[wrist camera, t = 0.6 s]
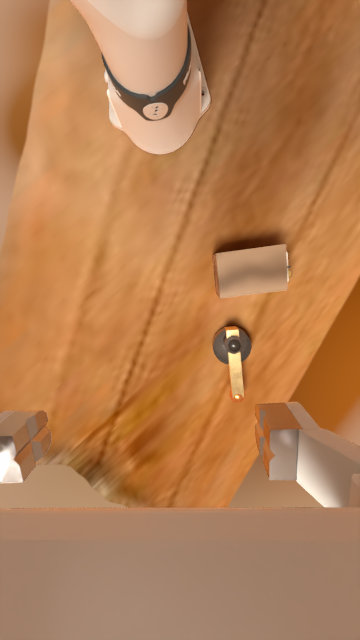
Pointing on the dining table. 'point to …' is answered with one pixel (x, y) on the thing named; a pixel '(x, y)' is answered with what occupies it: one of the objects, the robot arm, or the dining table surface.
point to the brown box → (251, 271)
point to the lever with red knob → (233, 356)
